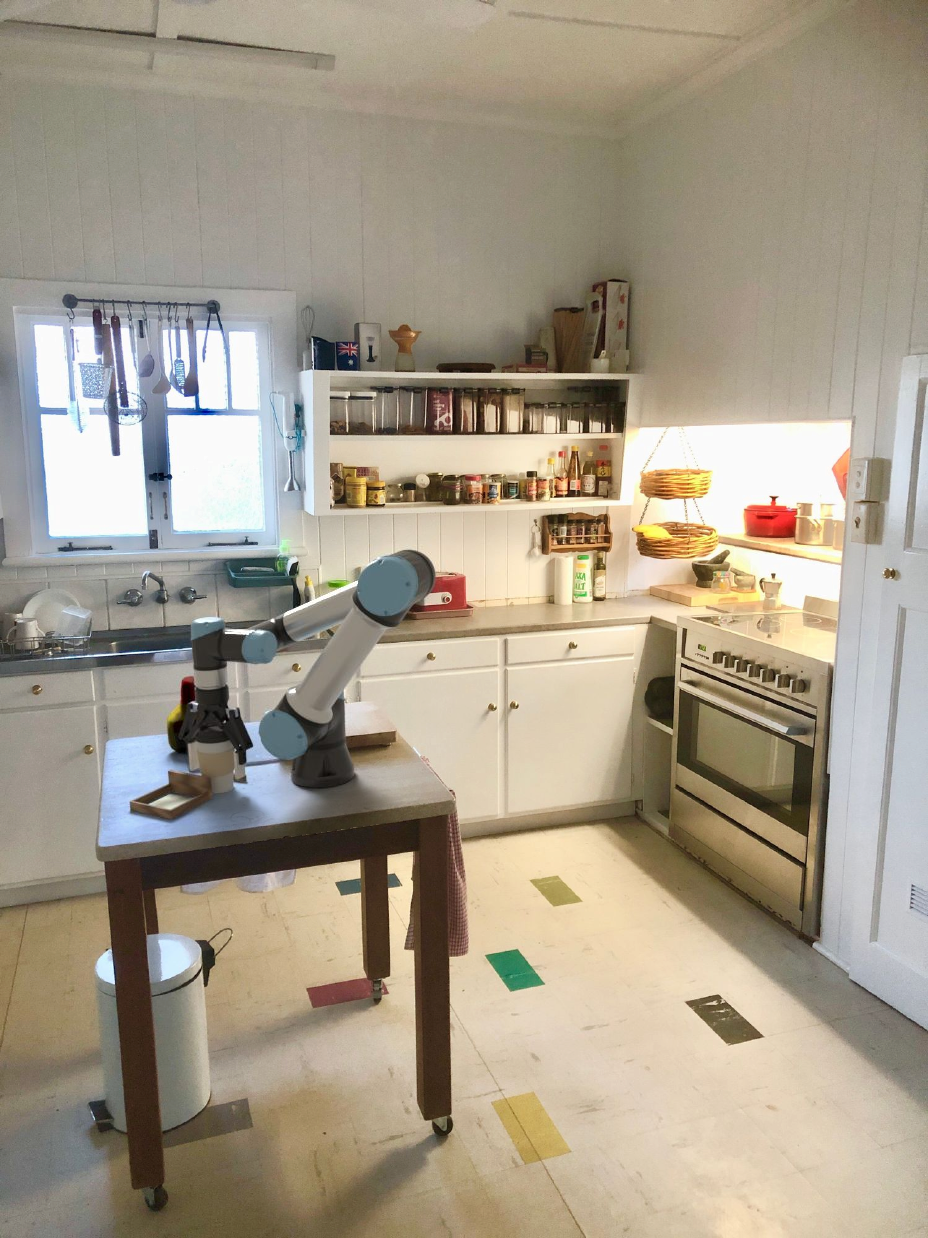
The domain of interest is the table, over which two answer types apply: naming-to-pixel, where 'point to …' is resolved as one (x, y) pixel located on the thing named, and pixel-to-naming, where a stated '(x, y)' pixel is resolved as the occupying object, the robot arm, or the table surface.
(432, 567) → the robot arm
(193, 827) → the table surface
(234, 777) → the rail
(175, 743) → the bottle
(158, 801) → the tray
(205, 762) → the coffee cup
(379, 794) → the table surface
